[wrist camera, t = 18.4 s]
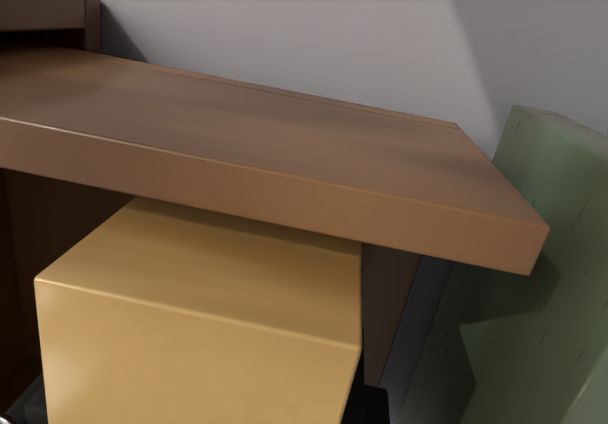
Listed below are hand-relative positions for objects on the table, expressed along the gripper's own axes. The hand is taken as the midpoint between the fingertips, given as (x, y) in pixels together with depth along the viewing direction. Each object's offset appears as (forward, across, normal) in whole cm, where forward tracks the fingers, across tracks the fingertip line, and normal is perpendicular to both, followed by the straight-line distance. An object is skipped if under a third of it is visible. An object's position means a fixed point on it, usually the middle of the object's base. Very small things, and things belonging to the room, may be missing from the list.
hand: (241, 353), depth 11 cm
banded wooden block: (0, 0, 0) cm, 0 cm away
